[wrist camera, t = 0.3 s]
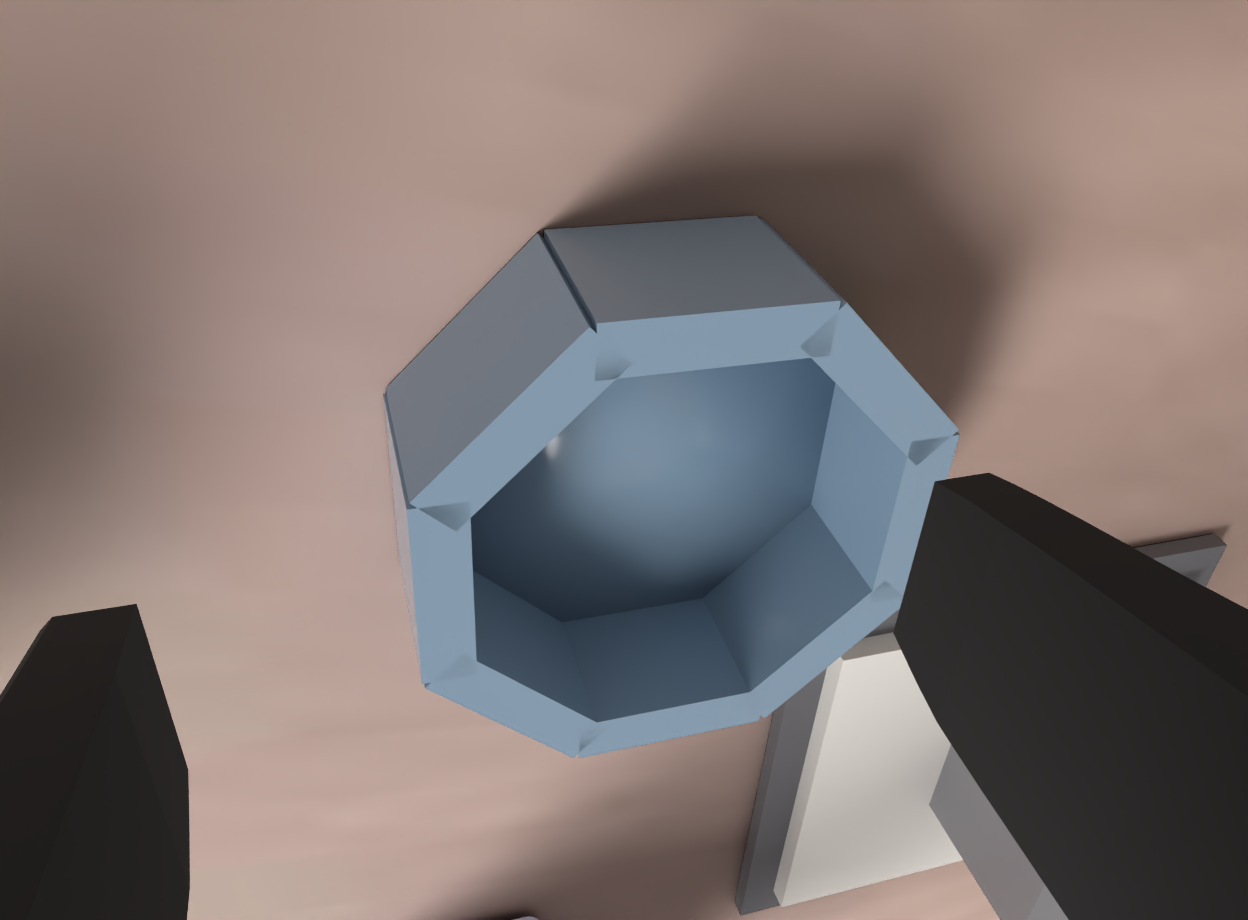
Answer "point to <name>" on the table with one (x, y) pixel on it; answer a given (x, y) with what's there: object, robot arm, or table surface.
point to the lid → (894, 796)
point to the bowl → (653, 484)
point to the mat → (797, 723)
